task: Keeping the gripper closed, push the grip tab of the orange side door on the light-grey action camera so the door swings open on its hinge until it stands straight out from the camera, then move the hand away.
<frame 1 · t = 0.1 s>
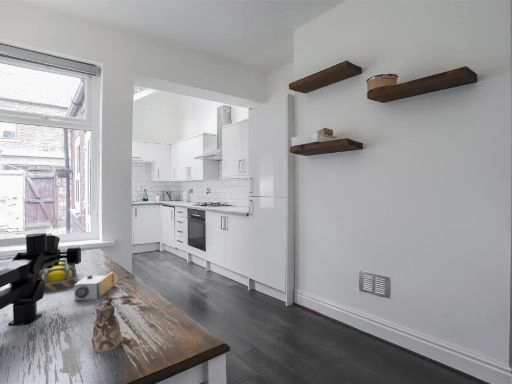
hand: (65, 251, 121), 17 cm above the table, tool horizontal, fingers open, 9 cm apart
side door: (106, 284, 121), point 3 cm above the table, hinge at 0.0°
cage light: (57, 281, 136), on the table
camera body: (91, 294, 118), on the table
figurine: (106, 345, 81), on the table
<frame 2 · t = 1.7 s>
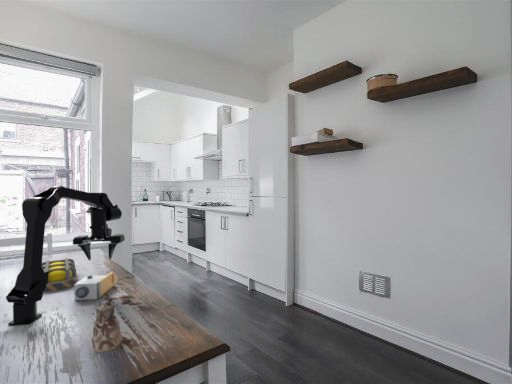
hand: (100, 259, 125), 12 cm above the table, tool pointing down, fingers open, 8 cm apart
nothing on the table moved.
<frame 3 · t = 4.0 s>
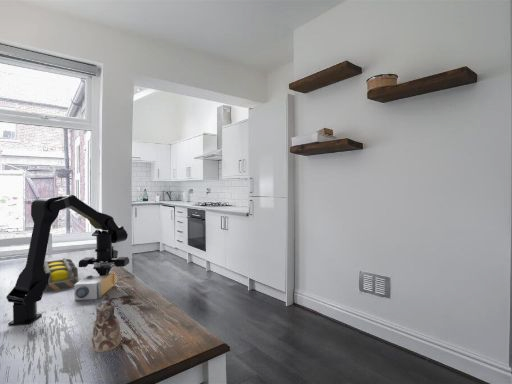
hand: (104, 282, 126), 3 cm above the table, tool pointing down, fingers closed
side door: (107, 284, 121), point 3 cm above the table, hinge at 0.8°, touching gripper
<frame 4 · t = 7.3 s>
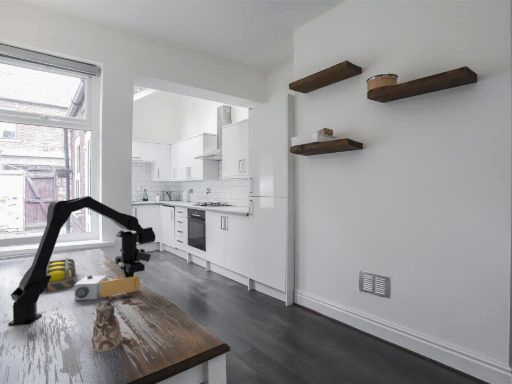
hand: (129, 283, 123), 3 cm above the table, tool pointing down, fingers closed
side door: (119, 286, 118), point 3 cm above the table, hinge at 62.4°, touching gripper
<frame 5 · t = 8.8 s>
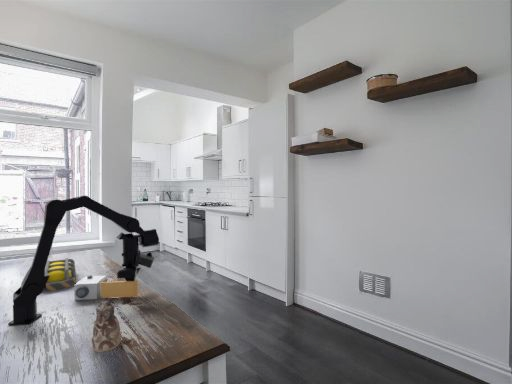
hand: (131, 288, 117), 3 cm above the table, tool pointing down, fingers closed
side door: (117, 289, 114), point 3 cm above the table, hinge at 92.3°, touching gripper
everything else where it was.
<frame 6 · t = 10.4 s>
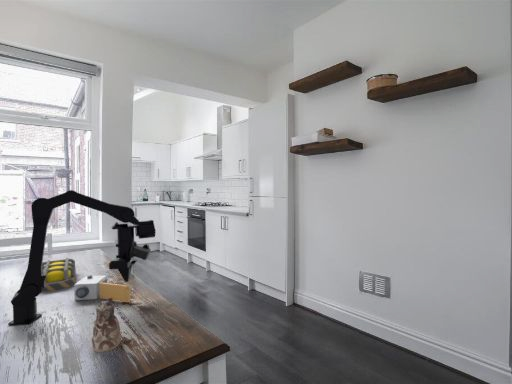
hand: (126, 281, 112), 7 cm above the table, tool pointing down, fingers closed
side door: (112, 292, 112), point 3 cm above the table, hinge at 115.5°
everything else where it was.
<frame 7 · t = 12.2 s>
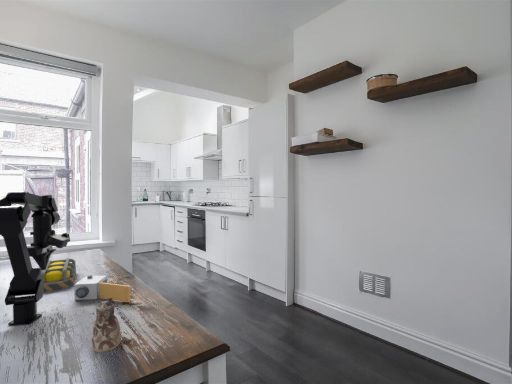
hand: (43, 269, 111), 12 cm above the table, tool pointing down, fingers closed
nothing on the table moved.
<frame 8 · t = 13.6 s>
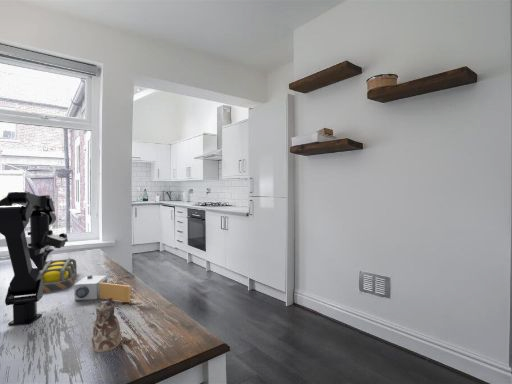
hand: (41, 270, 111), 12 cm above the table, tool pointing down, fingers closed
at the end: side door at +116° (first picture: +0°); side door touching nothing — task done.
